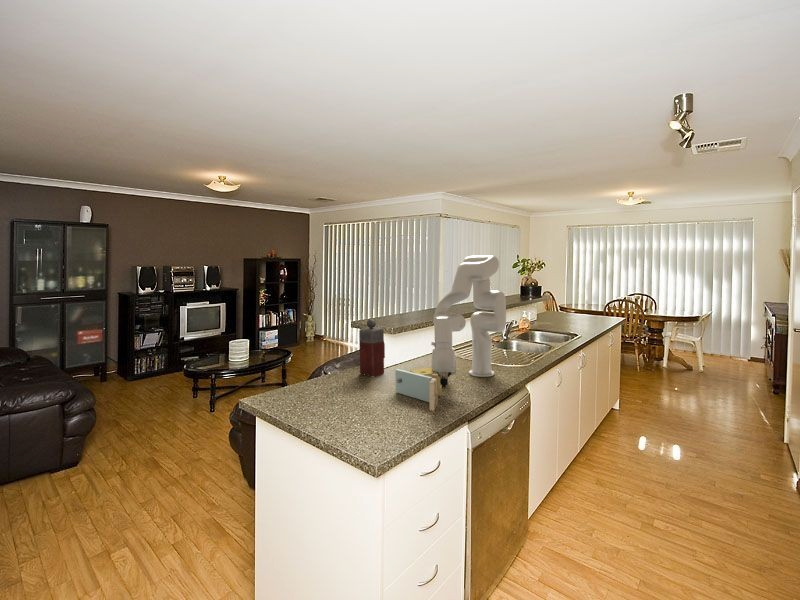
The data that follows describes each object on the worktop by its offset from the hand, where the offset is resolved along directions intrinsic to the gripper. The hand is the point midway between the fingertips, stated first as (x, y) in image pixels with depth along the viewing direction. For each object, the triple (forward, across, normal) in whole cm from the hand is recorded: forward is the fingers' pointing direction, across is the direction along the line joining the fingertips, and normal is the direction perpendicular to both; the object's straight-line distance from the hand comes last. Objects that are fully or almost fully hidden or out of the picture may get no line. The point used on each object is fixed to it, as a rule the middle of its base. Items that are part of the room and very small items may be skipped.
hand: (444, 386), depth 186 cm
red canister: (+3, -40, +25) cm, 47 cm away
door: (+2, -12, -9) cm, 15 cm away
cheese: (+3, -8, -3) cm, 9 cm away
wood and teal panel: (+3, -1, -3) cm, 5 cm away
